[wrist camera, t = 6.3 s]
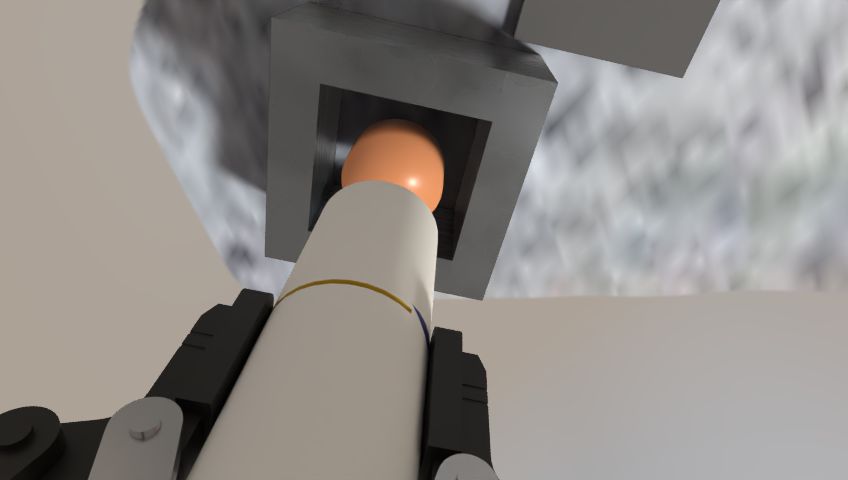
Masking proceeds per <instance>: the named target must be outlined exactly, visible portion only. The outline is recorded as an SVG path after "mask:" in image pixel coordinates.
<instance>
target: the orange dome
mask: <svg viewBox="0 0 848 480" xmlns="http://www.w3.org/2000/svg"><path fill="white" fill-rule="evenodd" d="M341 180H342V187H343V188H344V187H346V186H349V185H351V184H354V183H357V182H362V181H368V180H370V181H385V182H390V183H394V184H397V185H399V186H402V187H404V188H406V189H408V190H410V191H411V192H413V193H414V194H416V195H417V196H418V197H419V198H420V199H421V200H423V201H424V202H425V204H426V205H427V206H428V208H429V209H430V210H431V212H433V211H434V209H435V208H436V207H437V205H438V203H439V201H440V198H441V195H442V190H443V180H444V156H443V153H442V150H441V148H440V145H439V144H438V142H437V140H436V139H435V138H434V137H433V135H432V134H431V133H430V132H428V131H427V130H426V129H425V128H423V127H422V126H420V125H418V124H416V123H413V122H411V121H407V120H402V119H387V120H382V121H379V122H376V123H374V124H372V125H370V126H369V127H367V128H366V129H365V130H364V131H363V132H362V133H361V134H360V135H359V136H358V138H357V139H356V141H355V143H354V145H353V147H352V149H351V151H350V152H349V154H348V156H347V158H346V160H345V162H344V165H343V169H342V177H341Z"/></svg>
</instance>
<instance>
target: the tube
mask: <svg viewBox="0 0 848 480" xmlns="http://www.w3.org/2000/svg"><path fill="white" fill-rule="evenodd" d="M437 244H438V230H437V225H436V221H435V219H434V217H433V214H432V212H431V210H430V209H429V208H428V206H427V205H426V204H425V202H424V201H423V200H421V199H420V198H419V197H418V196H417V195H416V194H414V193H413V192H411V191H410V190H408V189H406V188H404V187H402V186H399V185H397V184H394V183H390V182H385V181H370V180H368V181H362V182H357V183H354V184H351V185H349V186H346V187H344V188H343V189H341V190H340V191H338V192H337V193H336V194H335V195H334V196H332V197H331V198H330V199H329V201H328V203H327V204H326V206H325V207H324V209H323V211H322V213H321V215H320V217H319V219H318V221H317V223H316V225H315V227H314V229H313V231H312V233H311V235H310V237H309V239H308V241H307V243H306V245H305V247H304V249H303V250H302V252H301V254H300V256H299V258H298V260H297V262H296V264H295V266H294V268H293V270H292V272H291V274H290V276H289V278H288V280H287V282H286V284H285V286H284V288H283V290H282V292H281V294H280V296H279V298H278V300H277V302H276V304H275V306H274V308H273V310H272V312H271V314H270V316H269V318H268V320H267V322H266V324H265V325H264V327H263V329H262V331H261V333H260V335H259V337H258V339H257V341H256V343H255V345H254V347H253V349H252V351H251V353H250V355H249V357H248V359H247V361H246V363H245V365H244V367H243V369H242V371H241V373H240V375H239V377H238V379H237V381H236V383H235V385H234V387H233V389H232V391H231V392H230V394H229V396H228V398H227V400H226V402H225V404H224V406H223V408H222V410H221V412H220V414H219V416H218V418H217V420H216V422H215V424H214V426H213V428H212V430H211V432H210V434H209V436H208V438H207V440H206V442H205V444H204V446H203V448H202V450H201V452H200V454H199V456H198V458H197V459H196V461H195V463H194V465H193V467H192V469H191V471H190V473H189V475H188V477H187V479H186V480H419V472H420V459H421V447H422V434H423V421H424V409H425V396H426V383H427V370H428V350H429V345H430V332H431V318H432V306H433V294H434V282H435V269H436V256H437Z"/></svg>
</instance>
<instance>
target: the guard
mask: <svg viewBox="0 0 848 480" xmlns="http://www.w3.org/2000/svg"><path fill="white" fill-rule="evenodd" d="M557 85H558V82H557V81H556V79H555V78H554V76H553V74H552V73H551V71H550V70H549V68H548V67H547V65H546V63H545V62H544V60H543V59H542V57H541V55H537V54H533V53H528V52H524V51H520V50H515V49H511V48H507V47H502V46H498V45H494V44H489V43H485V42H481V41H476V40H472V39H468V38H463V37H459V36H455V35H450V34H446V33H441V32H437V31H433V30H428V29H424V28H420V27H415V26H411V25H407V24H402V23H398V22H394V21H389V20H385V19H381V18H376V17H372V16H368V15H363V14H359V13H354V12H350V11H346V10H341V9H337V8H333V7H328V6H324V5H320V4H315V3H311V2H306V3H304V4H302V5H299V6H297V7H295V8H292V9H290V10H288V11H286V12H283V13H281V14H279V15H277V16H274V17H272V18H271V44H270V82H269V119H268V157H267V194H266V232H265V257H270V258H274V259H279V260H284V261H289V262H294V263H296V262H297V260H298V258H299V256H300V254H301V252H302V250H303V249H304V247H305V245H306V243H307V241H308V239H309V237H310V235H311V233H312V231H313V229H314V227H315V225H316V223H317V221H318V219H319V217H320V215H321V213H322V211H323V209H324V207H325V206H326V204H327V203H328V201H329V199H330V198H331V197H332V196H334V195H335V194H336V193H337V192H338V191H340V190H341V189H343V187H341V186H336V185H332V181H333V172H334V163H335V153H336V144H337V135H338V126H339V117H340V107H341V98H342V89H347V90H352V91H356V92H361V93H365V94H370V95H374V96H379V97H383V98H388V99H392V100H397V101H402V102H406V103H411V104H415V105H420V106H424V107H429V108H433V109H438V110H442V111H447V112H451V113H456V114H460V115H465V116H469V117H474V118H478V119H479V121H478V125H477V128H476V132H475V136H474V139H473V143H472V147H471V151H470V154H469V158H468V162H467V165H466V169H465V173H464V176H463V180H462V184H461V187H460V191H459V195H458V198H457V202H456V206H455V210H450V209H445V208H440V207H436V208H435V209H434V211H433V212H432V214H433V217H434V219H435V221H436V225H437V230H438V244H437V256H436V269H435V282H434V291H437V292H442V293H447V294H452V295H457V296H462V297H467V298H472V299H477V300H483V297H484V294H485V291H486V289H487V286H488V283H489V280H490V277H491V274H492V271H493V268H494V266H495V263H496V260H497V257H498V254H499V251H500V248H501V245H502V243H503V240H504V237H505V234H506V231H507V228H508V225H509V222H510V220H511V217H512V214H513V211H514V208H515V205H516V202H517V199H518V197H519V194H520V191H521V188H522V185H523V182H524V179H525V176H526V174H527V171H528V168H529V165H530V162H531V159H532V156H533V153H534V151H535V148H536V145H537V142H538V139H539V136H540V133H541V130H542V128H543V125H544V122H545V119H546V116H547V113H548V110H549V107H550V105H551V102H552V99H553V96H554V93H555V90H556V87H557Z"/></svg>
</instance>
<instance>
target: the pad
mask: <svg viewBox="0 0 848 480" xmlns="http://www.w3.org/2000/svg"><path fill="white" fill-rule="evenodd" d="M719 2H720V0H523V1H522V5H521V8H520V12H519V16H518V19H517V23H516V26H515V30H514V33H513V39H515V40H519V41H523V42H528V43H532V44H536V45H541V46H545V47H549V48H553V49H558V50H562V51H566V52H571V53H575V54H579V55H584V56H588V57H592V58H597V59H601V60H605V61H610V62H614V63H618V64H623V65H627V66H631V67H636V68H640V69H644V70H649V71H653V72H657V73H662V74H666V75H670V76H675V77H679V78H683V76H684V74H685V72H686V70H687V68H688V66H689V64H690V62H691V60H692V58H693V56H694V53H695V51H696V49H697V47H698V45H699V43H700V41H701V39H702V37H703V35H704V33H705V31H706V29H707V27H708V25H709V22H710V20H711V18H712V16H713V14H714V12H715V10H716V8H717V6H718V4H719Z"/></svg>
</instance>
